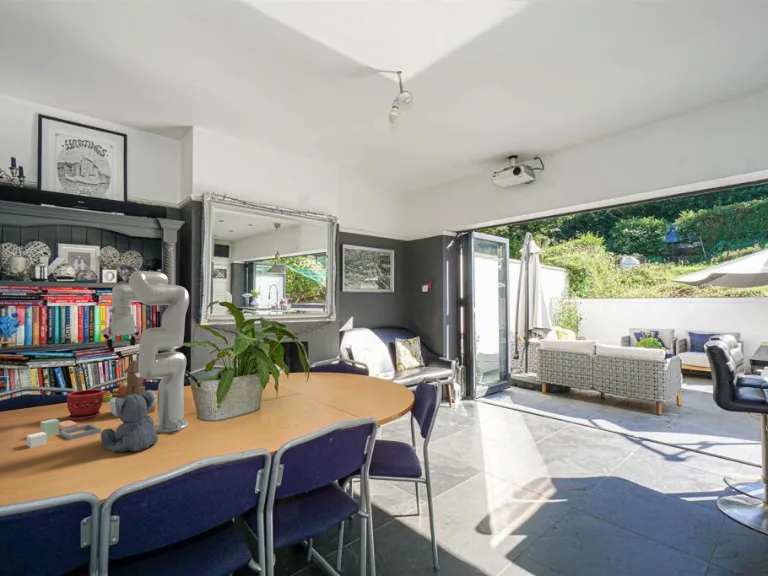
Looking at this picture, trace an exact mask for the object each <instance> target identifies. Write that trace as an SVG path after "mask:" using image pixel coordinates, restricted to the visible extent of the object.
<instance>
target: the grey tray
mask: <svg viewBox="0 0 768 576" xmlns="http://www.w3.org/2000/svg"><path fill="white" fill-rule="evenodd" d="M80 431H81V432H80ZM75 432H78V433H75ZM71 433H74V434H71ZM99 433H100V434H101V428H100V427H98V426H96V425H93V424H91V423H89V424H86V425H80V426H78V427H76V428H72V429H68V430H63V431H62V430H59V435H60V436H61V437H63V438H65V439H66V440H67V439H68V440H69V441H71V440H75V439H79V438H84V437H88V436H91V435H96V434H99Z"/></svg>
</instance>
